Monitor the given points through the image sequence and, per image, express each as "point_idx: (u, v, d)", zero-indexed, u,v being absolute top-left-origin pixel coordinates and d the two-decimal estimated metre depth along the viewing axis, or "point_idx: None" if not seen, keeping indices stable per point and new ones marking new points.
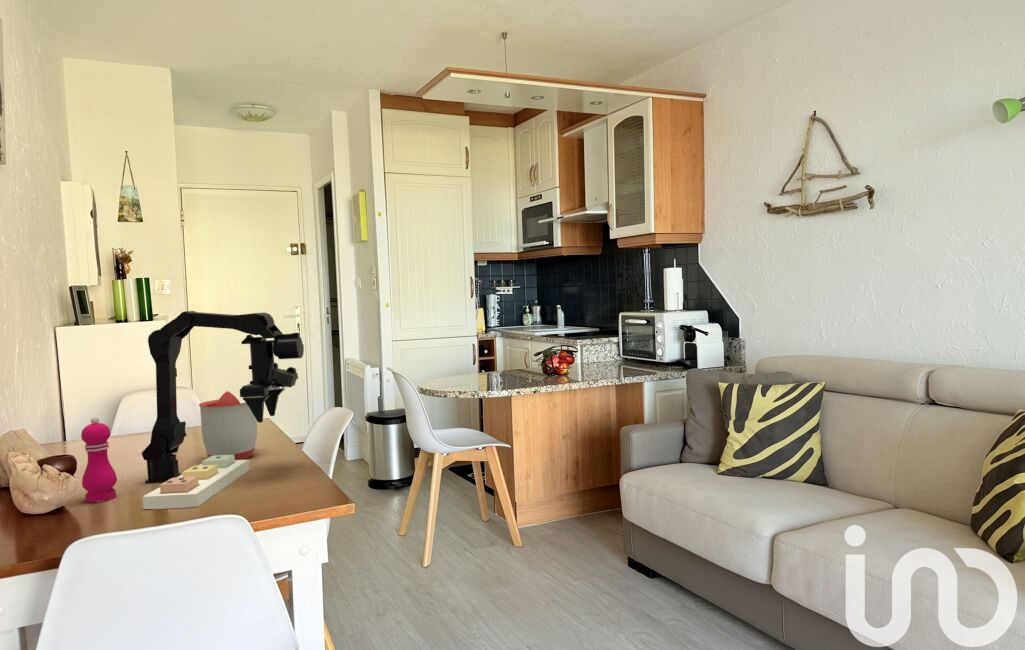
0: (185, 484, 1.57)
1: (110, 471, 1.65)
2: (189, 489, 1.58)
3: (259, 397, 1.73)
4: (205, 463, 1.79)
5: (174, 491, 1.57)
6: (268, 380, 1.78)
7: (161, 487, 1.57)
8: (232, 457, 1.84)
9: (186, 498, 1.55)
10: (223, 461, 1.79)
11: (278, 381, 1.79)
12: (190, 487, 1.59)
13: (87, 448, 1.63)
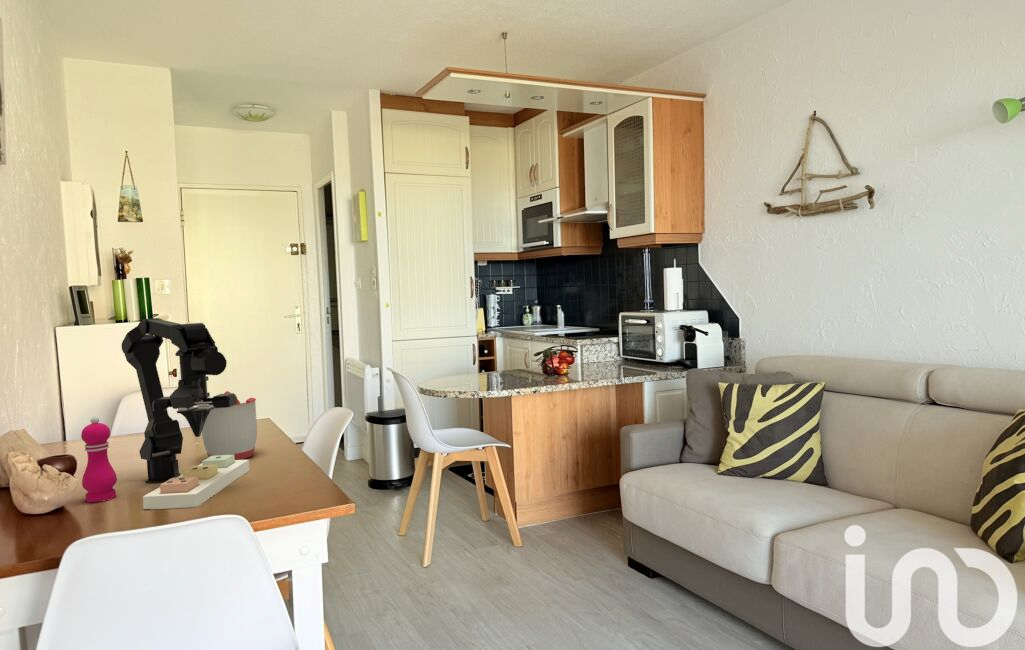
0: (185, 484, 1.57)
1: (110, 471, 1.65)
2: (189, 489, 1.58)
3: None
4: (205, 463, 1.79)
5: (174, 491, 1.57)
6: None
7: (161, 487, 1.57)
8: (232, 457, 1.84)
9: (186, 498, 1.55)
10: (223, 461, 1.79)
11: None
12: (190, 487, 1.59)
13: (87, 448, 1.63)
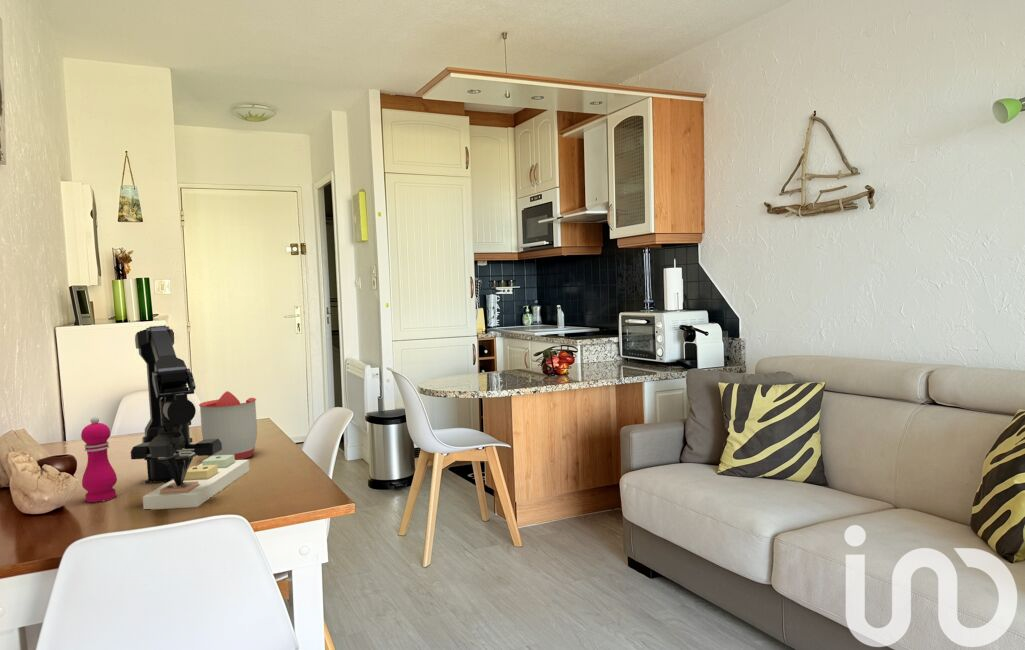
0: (185, 489, 1.57)
1: (110, 471, 1.65)
2: None
3: None
4: (205, 463, 1.79)
5: None
6: None
7: (161, 492, 1.57)
8: (232, 457, 1.84)
9: (186, 498, 1.55)
10: (223, 461, 1.79)
11: None
12: None
13: (87, 448, 1.63)
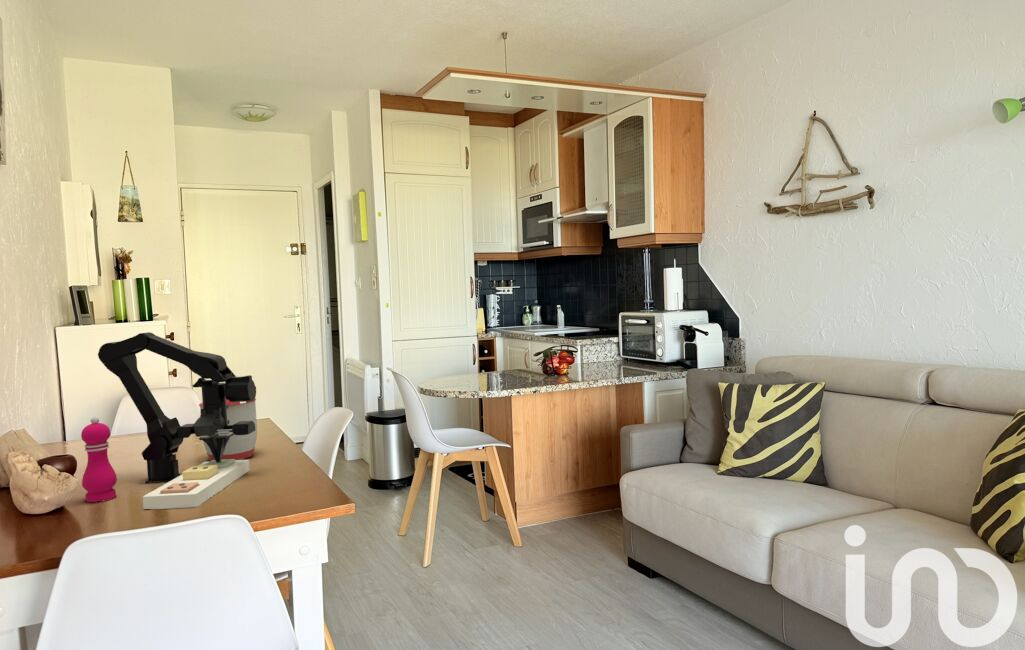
0: (185, 490, 1.57)
1: (110, 471, 1.65)
2: None
3: None
4: None
5: None
6: None
7: (161, 493, 1.57)
8: (232, 461, 1.84)
9: (186, 498, 1.55)
10: (223, 466, 1.79)
11: None
12: None
13: (87, 448, 1.63)
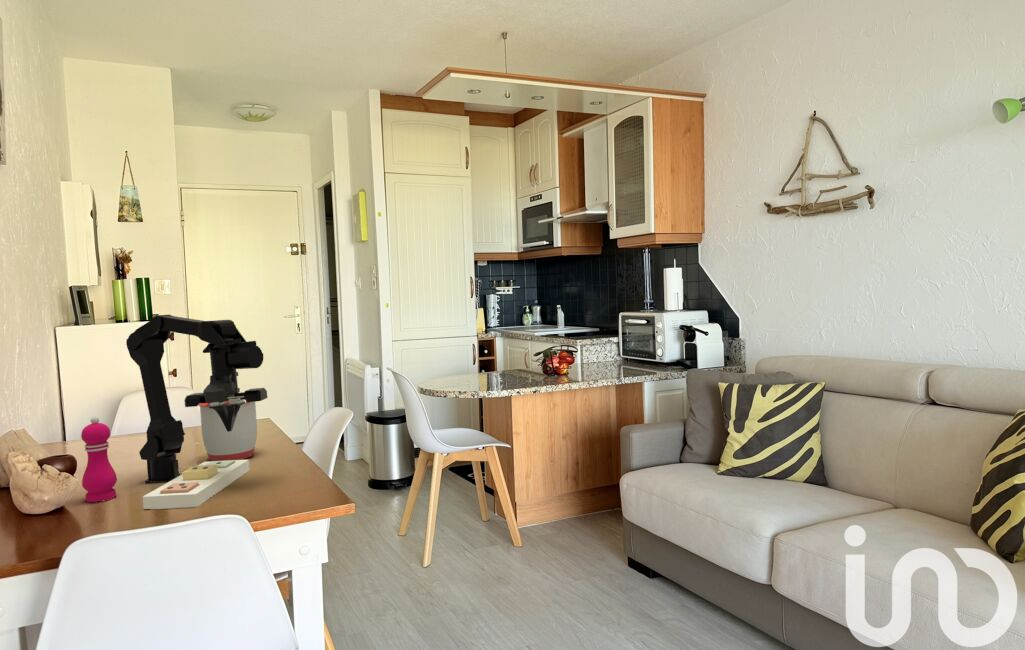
0: (185, 490, 1.57)
1: (110, 471, 1.65)
2: None
3: None
4: None
5: None
6: None
7: (161, 493, 1.57)
8: (232, 463, 1.84)
9: (186, 498, 1.55)
10: (223, 467, 1.79)
11: None
12: None
13: (87, 448, 1.63)
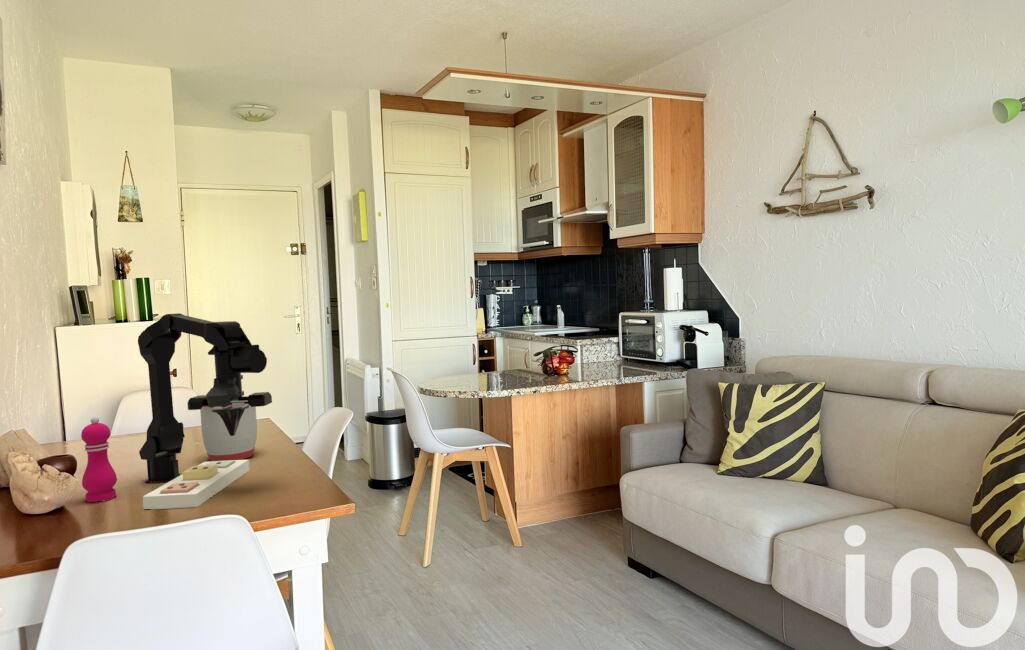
0: (185, 490, 1.57)
1: (110, 471, 1.65)
2: None
3: None
4: None
5: None
6: None
7: (161, 493, 1.57)
8: (232, 463, 1.84)
9: (186, 498, 1.55)
10: (223, 467, 1.79)
11: None
12: None
13: (87, 448, 1.63)
